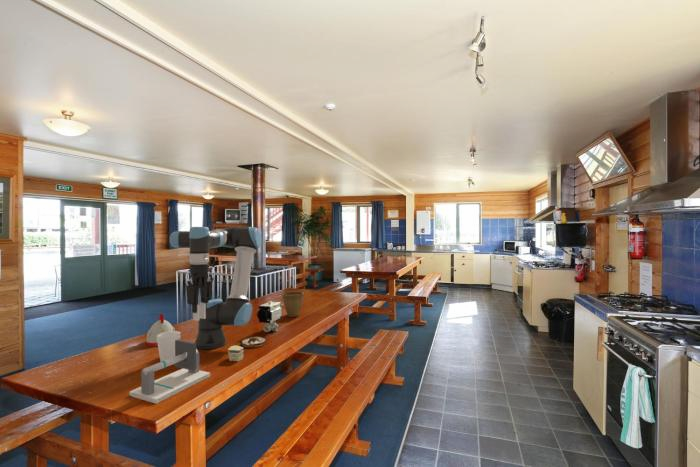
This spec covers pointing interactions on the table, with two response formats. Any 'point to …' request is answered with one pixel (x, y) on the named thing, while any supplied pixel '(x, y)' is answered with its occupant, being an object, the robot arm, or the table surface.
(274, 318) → the ball valve
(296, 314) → the plant pot
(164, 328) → the kitchen timer
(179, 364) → the collar
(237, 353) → the beige layered block
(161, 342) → the foam cup
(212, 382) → the table surface
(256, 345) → the white shallow bowl
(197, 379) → the pipe rig
